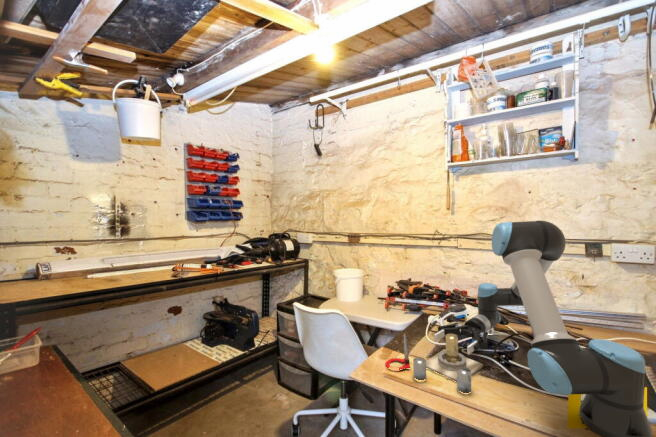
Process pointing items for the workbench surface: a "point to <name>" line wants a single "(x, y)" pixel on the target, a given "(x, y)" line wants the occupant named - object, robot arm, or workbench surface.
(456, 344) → the brass roller
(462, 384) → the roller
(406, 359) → the tow hook
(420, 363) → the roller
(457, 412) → the workbench surface
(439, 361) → the bearing housing
